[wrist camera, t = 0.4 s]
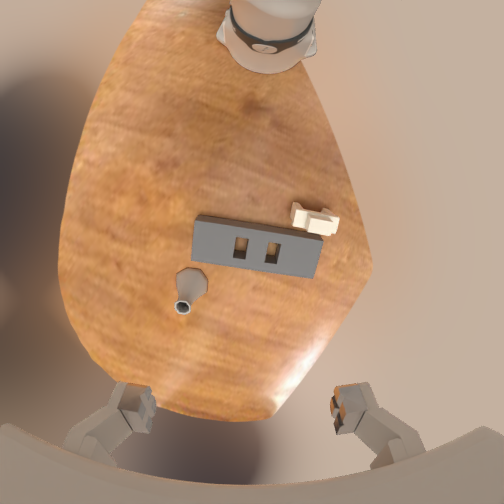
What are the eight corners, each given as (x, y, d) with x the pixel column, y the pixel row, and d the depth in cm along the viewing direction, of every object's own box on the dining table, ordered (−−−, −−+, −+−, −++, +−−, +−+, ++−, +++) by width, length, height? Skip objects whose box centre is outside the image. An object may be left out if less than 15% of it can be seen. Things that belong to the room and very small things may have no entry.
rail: (198, 214, 53) (194, 220, 49) (318, 234, 54) (323, 241, 51) (194, 252, 56) (191, 260, 52) (309, 269, 57) (313, 278, 54)
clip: (290, 201, 52) (299, 213, 43) (329, 209, 53) (345, 222, 44) (287, 216, 53) (295, 231, 44) (326, 223, 54) (340, 239, 45)
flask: (203, 264, 57) (195, 288, 48) (212, 293, 60) (206, 320, 50) (171, 269, 57) (158, 293, 48) (181, 298, 60) (171, 325, 51)
